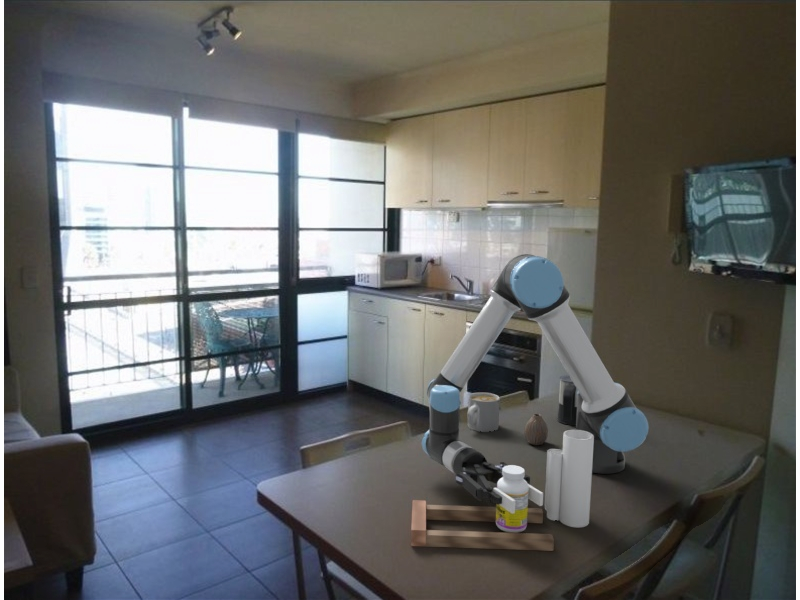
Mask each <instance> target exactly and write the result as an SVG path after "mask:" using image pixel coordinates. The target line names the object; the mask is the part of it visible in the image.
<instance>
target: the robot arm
mask: <svg viewBox="0 0 800 600" xmlns="http://www.w3.org/2000/svg"><path fill="white" fill-rule="evenodd" d="M489 291H490V297H489V298H488V300H487V301H486V303H485V304H484V306H483V308H482V309H481V311H479V313H478V315H477V316H476V318H475V320H474V321H473V323H471V325H470V327H469V328H468V330H467V331H466V333H465V335H463V338H462V339H461V340H460V342H459V343H458V345H457V346H456V347H455V349H454V351H453V353H452V354H451V355H450V357H449V358H448V360H447V361H446V363H445V364H444V365H443V368H441V371H440V372H439V373H438V374H437V376H436V378H434V379H432V380H431V381H430V382H429V384H428V386H427V389H426V390H427V391H426V397H427V400H428V409H429V428H428V430H427V431H426V432H425V433H424V434H423V437H422V440H421V446H422V450H423V451H424V453H426V455H427V456H429V458H430V459H431V460H432V461H435V462H437V463H438V464H440V465H442V466H443V467H444V468H445V469H447V470H449V472H451V473H452V474H454V475H455V484H457V485H460V486H461V487H462V488H464V489H465V490H466V491H467V492H468V493H470V494H471V495H472V497H474V498H475V499H477V500H478V501H483V499H485V503H487V504H491V503H492V502H493V503H494V504H495V505H496V504H499V505H500V506H502V507H503V508H505V509H506V510H507V511H509V512H510V513H512V514H513V513H515V500H514V499H513V498H511V497H510V496H508V495H507V494H505V493H504V492H502V491H501V490H499V489H498V488H497V487H493V488H492V486H491V484H490V483H489V482H491V483H493V484H496V485H497V483H498V480H499V479H500V478H502V477H503V475H502V468H503V467H504V466H508V464H507V463H506V462H505V461H500V462H499V465H495V464H494V463H491V462H488V460H487V459H486V457H485V456H484V455H483V454H482V453H481V452H479V451H477V450H476V449H475V448H473V447H472V446H470V445H468V444H467V443H464V442H463V441H462V440H460V437H459V435H460V409H461V408H460V407H461V397H460V396H461V392H462V391H463V389H464V387H465V386H466V384H467V383H468V381H469V380H470V378H471V377H472V375H473V374H474V373H475V371H476V369H478V367H479V365H480V363H482V361H483V359H484V357H486V355H487V353H488V352H489V351H490V349H491V348H492V346H493V345H494V343H495V341H496V340H497V339H498V337H499V335H501V333H502V331H503V329H504V328H505V327H506V326H507V324H508V323H509V321H510V319H511V318H512V317H513V315H514V314H515V312H517V311H521V310H522V311H523V313H524V315H525V316H526V318H527V319H528V320H530V321H534V322H536V323H537V324H538V326H539V328H540V329H541V331H542V333H543V334H544V336H545V338H546V339H547V341H548V342H549V345H550V346H551V348H552V349H553V351H554V353H555V354H556V356H557V357H558V359H559V361H560V362H561V364H562V367H563V368H564V369H565V371H566V372H567V375H569V376H570V378H571V379H572V381H573V383H574V384H575V386H576V388H577V390H578V392H577V395H578V398H577V418H576V425H575V430H583V431H587V432H590V433H591V434H593V435H594V445H593V462H592V474H593V473H594V474H602V475H603V474H606V475H607V474H608V475H609V474H616V473H617V474H618V473H620V472H621V471H624V470H625V467H626V466H625V465H626V458H625V457H626V456H625V453H627V452H630V451H632V450H636V448H638V447H640V446H641V445H642V444H643V443H644V442H645V440H646V439H647V436H648V433H649V421H648V419H647V417H646V416H645V414H644V412H643V411H641V410H640V409H638V408H637V407H636V405H635V404H634V402H633V400H632V398H631V396H630V395H629V393H628V392H627V390H626V388H625V387H624V386H623V385H622V384H621V383H618V382H614V380H613V379H612V377H611V375H610V373H609V371H608V370H607V368H606V367H605V365H604V363H603V362H602V360H601V358H600V356H599V355H598V353H597V350H596V349H595V348H594V346H593V344H592V343H591V340H590V339H589V337H588V336H587V334H586V332H585V331H584V329H583V328H582V326H581V324H580V322H579V320H578V319H577V316H576V315H575V313H574V312H573V310H572V308H571V307H570V305H569V301H570V298H571V294H570V293H569V291H568V289H567V287H566V285H565V284H564V277H563V274H562V272H561V270H560V269H559V267H558V266H557V264H555V263H554V262H552V261H551V260H549V259H548V258H545V257H543V256H538V255H537V256H536V255H533V254H530V253H529V254H527V253H526V254H525V253H524V254H519V255H516V256H514V257H513V258H511V259H510V260H509V261H508V262H507V263H506V264H505V266H504V267H503V269H502V271H500V274H499V276H498V277H497V279H496V281H495V282H494V283H493V286H492V287H491V288H490V290H489ZM624 452H625V453H624ZM523 479H524V480H525V481H526V482H527V483H528V486H529V491H528V500H530V501H532V502H533V503H534V504H535V505H538V506H539V507H542V506H543V504H544V492H542V491H540V490H539V489H537V487H536V486H533V485H532V484H531V476H529V475H527V474H525V476H524V478H523Z"/></svg>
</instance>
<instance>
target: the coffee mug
mask: <svg viewBox="0 0 800 600" xmlns="http://www.w3.org/2000/svg"><path fill="white" fill-rule="evenodd" d="M467 404H468V405H467V407H468V409H467V414H466V420H467V427H468V428H469V429H471V430H472V431H475V432H480V431H481V432H482V433H489V431H491V432H495V431H497V430H499V427H500V426H499V423H500V422H499V421H500V420H499V418H500V416H499V415H500V396H499V395H497V394H494V393H491V392H473V393H470V394H469V395H468V401H467ZM494 430H495V431H494Z"/></svg>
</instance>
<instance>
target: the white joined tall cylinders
mask: <svg viewBox="0 0 800 600" xmlns="http://www.w3.org/2000/svg"><path fill="white" fill-rule="evenodd" d="M562 435H563V436H562V448H561V449H560V448H549V449H547V450H546V465H545V466H546V469H545V470H546V472H545V489H544V490H545V492H544V493H545V494H544V509H545V511H546V518H547V519H548V520H550V521H554V522H555V520H557V521H559V522H560V523H562V524H563V525H565V526H567V527H570V528H584V527H587V526H588V525H589V524H590V511H591V510H590V508H591V494H592V493H591V492H592V475H593V472H592V462H593V445H594V435H593V434H591V433H590V432H587V431H583V430H576V429H568V430H565V431H563V433H562Z"/></svg>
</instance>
